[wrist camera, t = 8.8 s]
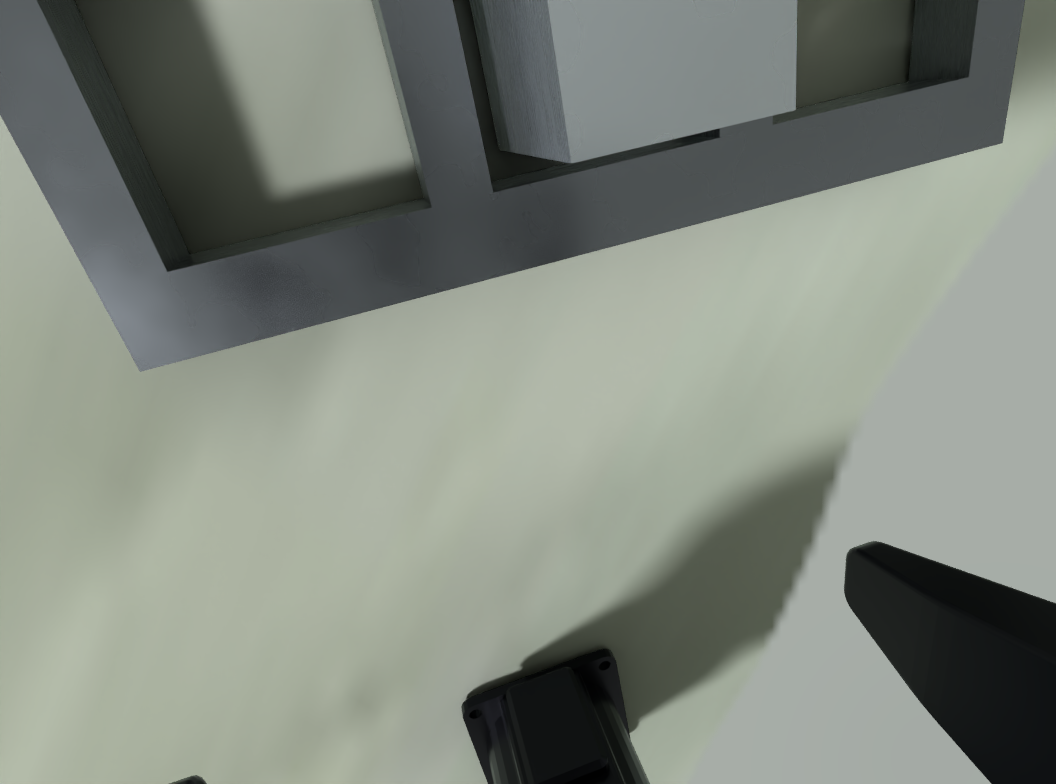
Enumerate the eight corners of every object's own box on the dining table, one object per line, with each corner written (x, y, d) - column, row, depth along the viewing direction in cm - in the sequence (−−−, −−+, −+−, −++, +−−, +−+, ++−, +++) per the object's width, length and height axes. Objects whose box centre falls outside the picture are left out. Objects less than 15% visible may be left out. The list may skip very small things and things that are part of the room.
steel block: (654, 114, 16) (795, 109, 11) (499, 149, 16) (571, 163, 11) (637, -87, 14) (799, -207, 9) (458, -56, 14) (523, -166, 8)
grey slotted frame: (942, 141, 19) (1005, 143, 17) (164, 343, 16) (138, 373, 14) (992, -294, 15) (1085, -354, 13) (-86, -147, 11) (-175, -201, 9)
